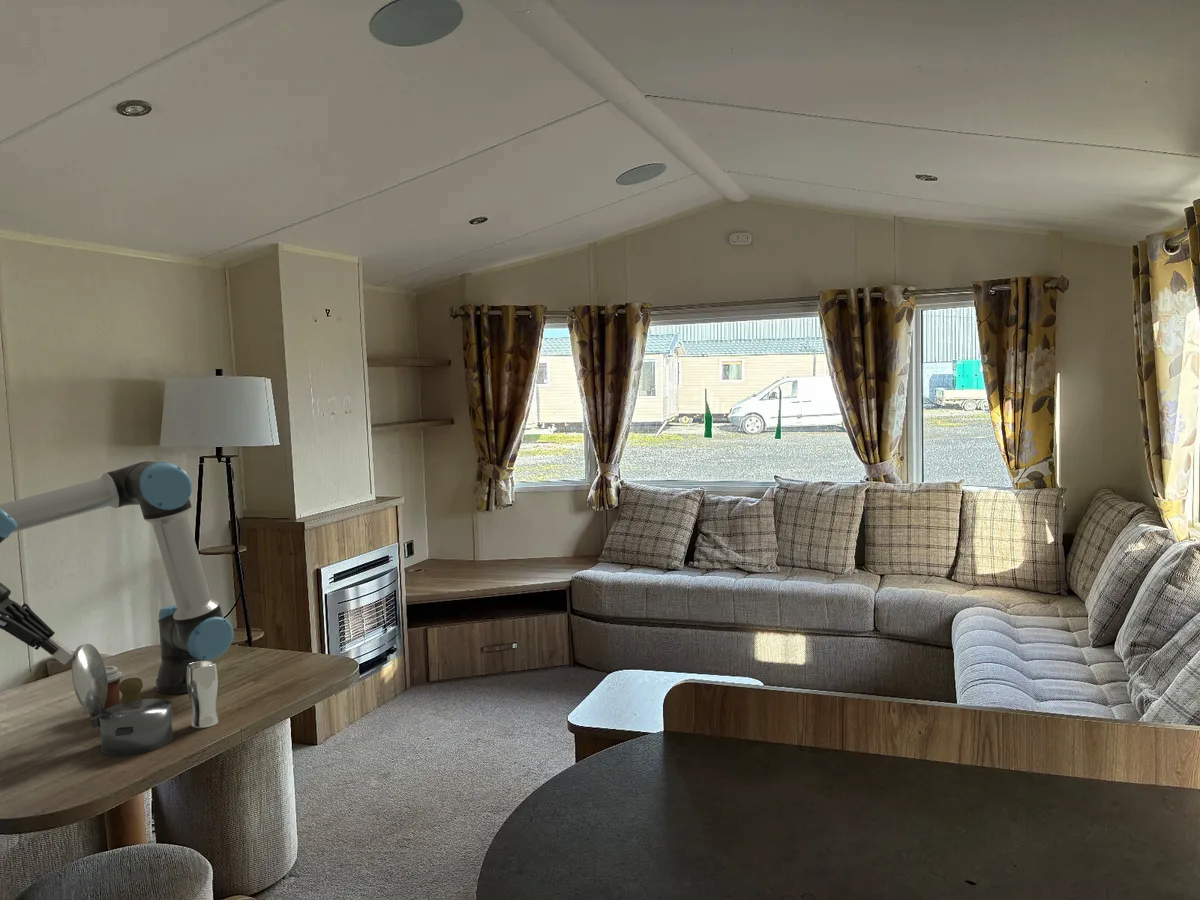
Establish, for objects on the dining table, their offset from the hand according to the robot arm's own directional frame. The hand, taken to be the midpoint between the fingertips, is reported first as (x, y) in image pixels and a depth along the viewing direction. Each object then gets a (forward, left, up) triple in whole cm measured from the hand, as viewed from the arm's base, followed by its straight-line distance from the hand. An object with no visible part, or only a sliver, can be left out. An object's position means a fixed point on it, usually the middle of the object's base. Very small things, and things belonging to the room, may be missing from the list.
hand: (69, 659), depth 206 cm
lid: (-2, +4, -5) cm, 7 cm away
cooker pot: (-6, +11, -21) cm, 25 cm away
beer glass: (-20, +18, -21) cm, 35 cm away
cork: (-17, -1, -21) cm, 27 cm away
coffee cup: (-19, -12, -21) cm, 31 cm away
